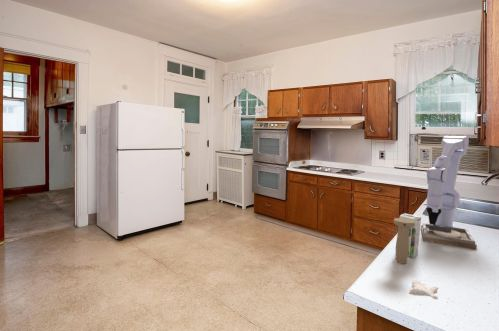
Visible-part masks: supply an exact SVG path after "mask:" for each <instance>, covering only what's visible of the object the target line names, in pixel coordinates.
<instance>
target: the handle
mask: <svg viewBox="0 0 499 331" xmlns="http://www.w3.org/2000/svg"><path fill="white" fill-rule="evenodd" d="M393 224H394V225H395V226H397V235H396V241H395V242H396V243H395V261H396V263H398V264H401V265H405V264H407V262H408V260H407V259H408V257H409V256H408V252H409V229H410V228H411V227H414V226H415V221H413V220H409V219H402V218H399V217H396V218H393Z"/></svg>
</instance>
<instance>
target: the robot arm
mask: <svg viewBox="0 0 499 331" xmlns="http://www.w3.org/2000/svg"><path fill="white" fill-rule="evenodd" d="M469 140H470V139H469V137H468V136H467V135H464V136H463V135H462V136H459V135H458V136H456V135H451V136H449V135H444V136H443V137H442V139H441V148H442V152H441V155H440V156H438V157H436V160H435V162H434V163H433V165H432V167H430V168H428V170H427V171H426V180H427V181H426V182H427V185H428V186H427V195H426V197H427V198H426V202H423V206H426V208H425V209H426V211H427V213H428V214H427V215H428V222H429V223H428V224H433V225H441V226H448V227H455V226H454V214H455V210H456V209H458V208H459V206H460V197H461V195H460V193H459V192H458V190H456V189H455V186H456V183H457V177H458V173H459V169H460V164H461V159H462V157H464V156H466V155H467V152H468V148H469V142H470V141H469Z"/></svg>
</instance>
